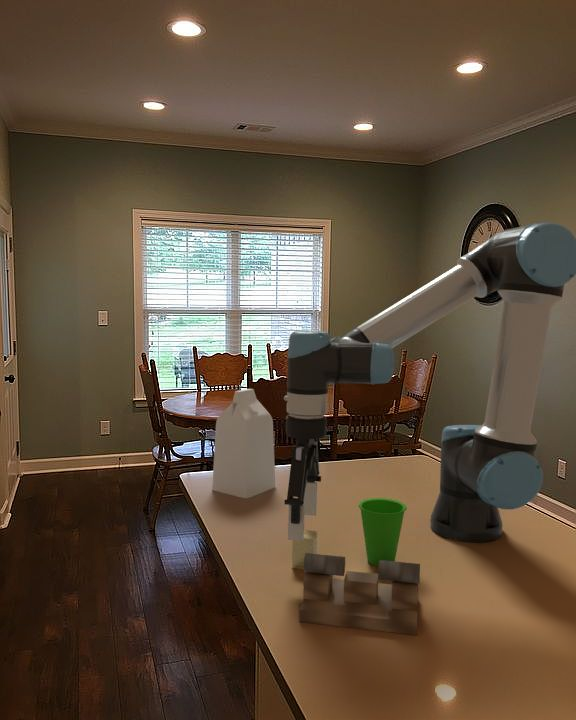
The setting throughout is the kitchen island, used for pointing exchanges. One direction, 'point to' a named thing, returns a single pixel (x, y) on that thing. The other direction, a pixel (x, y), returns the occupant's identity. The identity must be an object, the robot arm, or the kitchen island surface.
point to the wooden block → (303, 548)
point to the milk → (244, 448)
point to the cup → (381, 527)
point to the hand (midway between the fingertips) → (302, 526)
